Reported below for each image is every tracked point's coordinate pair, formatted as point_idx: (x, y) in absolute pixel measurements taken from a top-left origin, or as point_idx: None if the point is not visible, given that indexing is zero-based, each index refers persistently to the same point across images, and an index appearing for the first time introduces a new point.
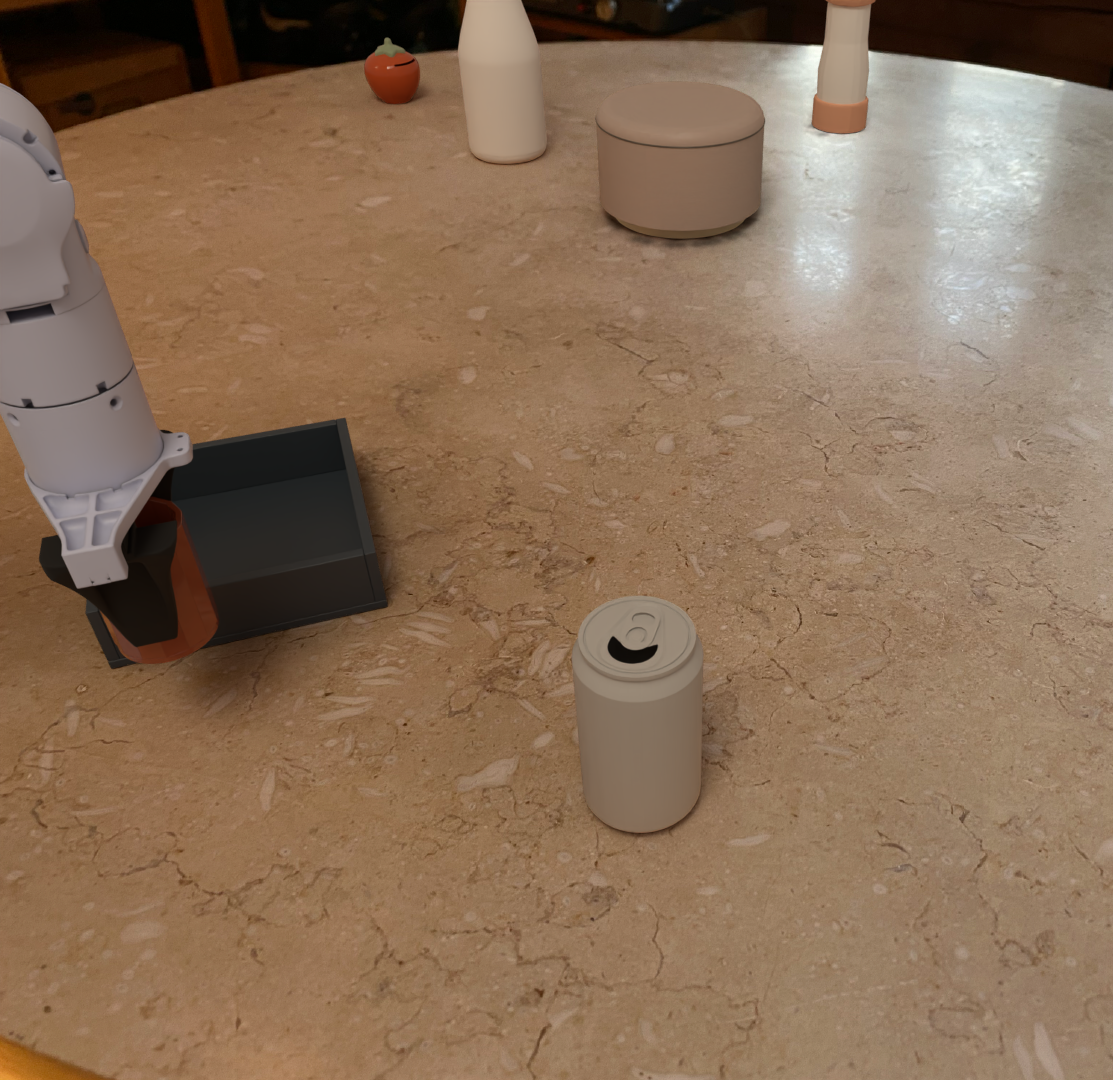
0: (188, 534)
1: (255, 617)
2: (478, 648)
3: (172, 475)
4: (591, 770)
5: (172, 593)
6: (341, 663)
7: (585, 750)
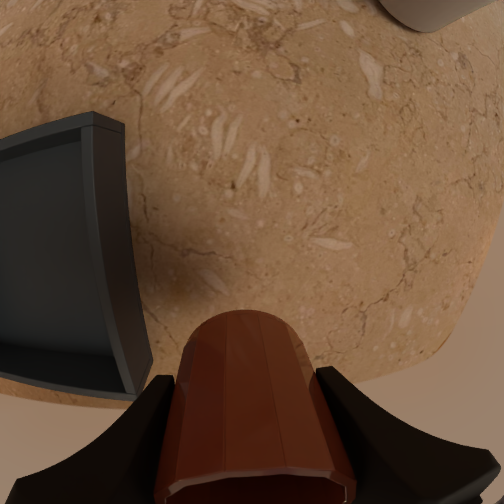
0: (245, 426)
1: (125, 253)
2: (216, 45)
3: (111, 494)
4: (456, 17)
5: (370, 408)
6: (192, 171)
7: (463, 11)
